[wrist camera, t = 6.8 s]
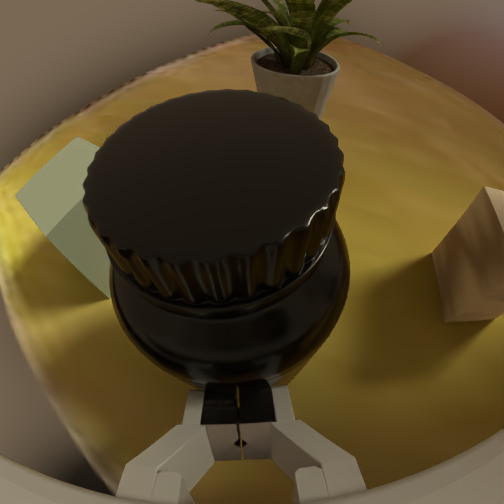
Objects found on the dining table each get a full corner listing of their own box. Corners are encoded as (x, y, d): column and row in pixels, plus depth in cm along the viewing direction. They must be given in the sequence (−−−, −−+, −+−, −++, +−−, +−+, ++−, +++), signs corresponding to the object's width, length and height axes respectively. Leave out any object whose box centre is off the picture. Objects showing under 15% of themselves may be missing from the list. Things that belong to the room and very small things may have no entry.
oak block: (431, 253, 17) (484, 186, 11) (479, 256, 17) (532, 200, 11) (443, 322, 15) (516, 271, 9) (494, 319, 15) (560, 273, 9)
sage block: (116, 208, 20) (77, 136, 14) (161, 240, 18) (123, 160, 12) (70, 258, 18) (14, 195, 12) (109, 299, 16) (45, 236, 10)
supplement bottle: (332, 347, 15) (467, 186, 4) (227, 428, 12) (122, 472, 2) (253, 258, 17) (247, 53, 7) (155, 323, 15) (22, 157, 5)
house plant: (290, 71, 30) (295, -51, 16) (391, 122, 25) (429, -23, 11) (190, 113, 25) (166, -46, 11) (302, 187, 20) (329, -58, 6)
